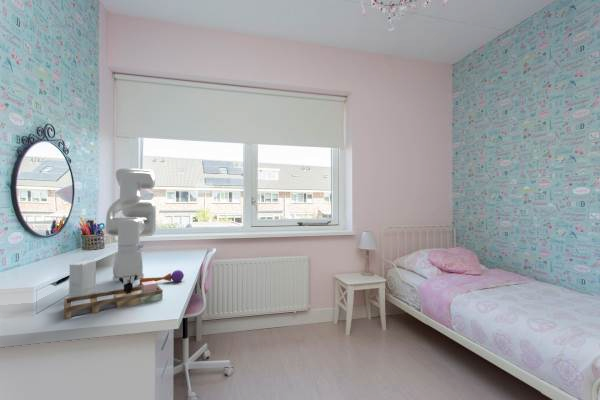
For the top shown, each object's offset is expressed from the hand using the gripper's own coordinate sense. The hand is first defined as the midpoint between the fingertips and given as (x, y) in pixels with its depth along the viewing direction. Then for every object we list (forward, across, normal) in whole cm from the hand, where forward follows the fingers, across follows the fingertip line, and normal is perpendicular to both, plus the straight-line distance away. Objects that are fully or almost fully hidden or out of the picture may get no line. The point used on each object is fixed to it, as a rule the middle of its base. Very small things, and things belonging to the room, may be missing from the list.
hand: (128, 292), depth 114 cm
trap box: (+4, +4, 0) cm, 6 cm away
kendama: (+4, -18, -20) cm, 28 cm away
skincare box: (+4, +14, -21) cm, 26 cm away
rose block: (+1, -8, +1) cm, 8 cm away
